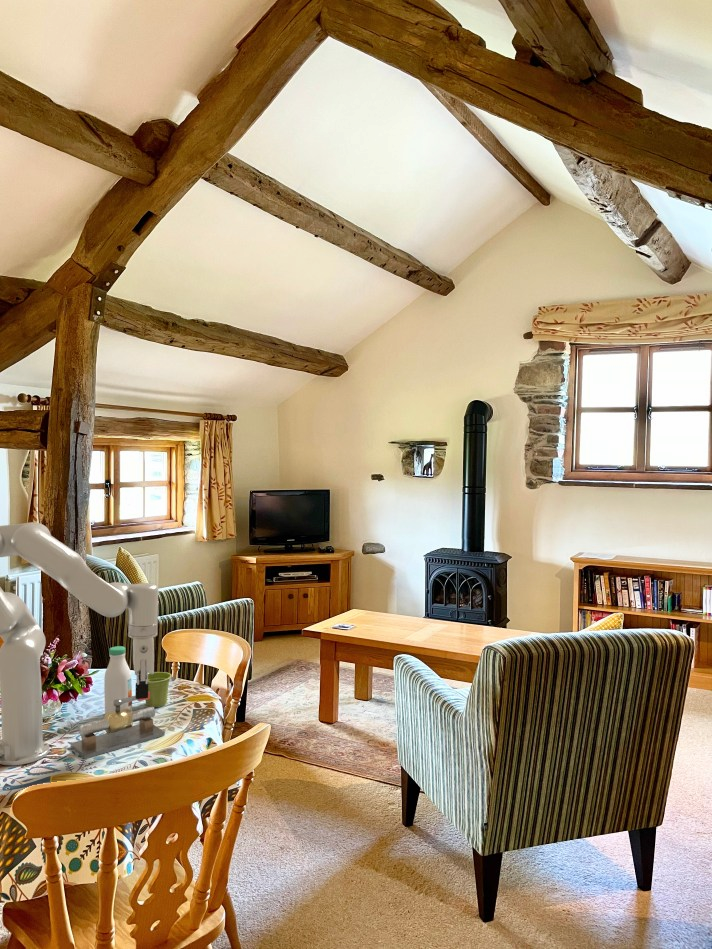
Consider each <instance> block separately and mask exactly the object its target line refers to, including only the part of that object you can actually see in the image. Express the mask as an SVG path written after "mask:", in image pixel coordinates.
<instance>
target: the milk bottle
mask: <svg viewBox="0 0 712 949" xmlns="http://www.w3.org/2000/svg"><path fill="white" fill-rule="evenodd" d="M108 655H109V656H108V657H110V658H109V662H108V665H107V668H106V669H105V672H104V684H103V686H104V687H103V688H104V689H103V690H104V715H105V714H108V713H111V712H115V706H114V705H113V701H114V700H118V699H120V700H121V699H124V698H128V697H132V696H133V689H132V688H133V687H132V673H131V670H130V667H129V664H128V663H127V660H126V647H125V646H121V645H119V646H118V645H117V646H113V647H110V648H109V650H108ZM127 708H128V709H129V710H130V711H131V712H133V701H131V702H127V703H124V704H122V705H120V710H123V709H127Z"/></svg>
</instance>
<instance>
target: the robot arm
mask: <svg viewBox="0 0 712 949" xmlns="http://www.w3.org/2000/svg"><path fill="white" fill-rule="evenodd" d="M15 556H19V558H21V559H23V560H24V561H26V562H28V563H29V564H31V565H32V566H34V567H35V568H36V569H38V570H40V571H42V573H44V574H46V575H48V576H49V577H50V578H52V579H53V580H55V581H56V582H57V583H59V585H60V586H61V587H63V588H64V589H65V590H66V591H67V592H69V593H70V594H71V595H73V596H74V597H75V598H76V599H77V600H79V601H80V603H82V604H84V605H86V606H87V607H89V608H90V609H91V610H93V611H95V612H96V613H98V614H100V615H101V616H104V617H107V618H115V617H118V616H120V615H122V614H123V613H124V612H125V610H126V609H127V610H128V626H127V627H128V633H127V636H128V638H130V639H132V663H133V671H134V675H135V677H136V682H135V695H134V696H136V699H145V698H148V674H151V675H152V674H153V673H154V672H155V664H154V663H155V643H154V642H155V641H154V638H155V637H157V636H158V631H159V630H158V626H159V625H158V624H159V622H158V620H159V618H158V617H159V615H158V614H159V588H158V586H157V585H156V584H155V583H149V582H141V583H140V582H139V583H125V582H118V581H114V582H110V583H108V582H107V581H106V580H104V579H103V578H101V577H100V576H98V575H97V574H96V573H95V572H93V571H92V570H91V568H90V567H89V565H87V563H86V562H85V560H84V559H83V557H82V556H81V554H79V553H78V552H76V551H75V550H73V549H72V548H70V547H69V546H67V545H66V544H65V543H63V542H61V541H59V540H58V539H57V538H56V537H54V536H53V535H52V534H51V532H50V530H49V528H48V527H47V526H46V525H44V524H42V523H40V522H32V521H31V522H24V523H23V522H22V523H17V524H6V525H5V524H4V525H0V558H7V557H15ZM40 626H41V625H39V623H38V622H37V619H35V617H34V615H33V614H32V612H31V610H30V608H28V605H26V602H25V601H24V600H23V599H22V598H21V597H20V596H19V595H17V594H15V593H14V592H11V591H10V592H9V591H4V590H3V589H2V587H1V586H0V638H1V639H2V641H3V643H2V645H1V646H0V710H1V711H0V712H1V713H0V715H1V717H0V718H1V739H0V765H4V766H20V765H25V764H31V763H33V762H37V761H39V760H41V759H43V758H45V757H46V756H47V755H48V754H49V753H50V750H51V749H50V747H51V746H50V745H49V744H48V743H47V742H45V741H44V740H43V739H44V733H43V730H44V729H43V703H42V702H43V699H42V698H43V697H42V696H43V695H42V693H43V692H42V676H41V664H40V663H41V660H40V659H41V656H42V654H43V652H44V650H45V649H46V648H45V647H46V644H47V642H46V641H47V640H46V636H45V633H44V632H43V630H42V628H41V627H40Z"/></svg>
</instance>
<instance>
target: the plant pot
mask: <svg viewBox="0 0 712 949" xmlns="http://www.w3.org/2000/svg"><path fill="white" fill-rule="evenodd" d="M171 678H172V674H171V673H170V672H167V671H164V672H163V671H154V673H153V674H152V675H151V674H149V673H148V691H149V692H150V699H147V700H145V705H146V706H147V708H148V707H154V708H155V707H157V708H158V707H159V708H161V707H163V706H166V704H167V703H168V693H169V683H171ZM160 706H161V707H160Z"/></svg>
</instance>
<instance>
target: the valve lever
mask: <svg viewBox="0 0 712 949" xmlns="http://www.w3.org/2000/svg"><path fill="white" fill-rule="evenodd" d="M147 699H150V692H149V691H148V698H145V699H136V696H135V695H132V697H128V698H124V699H121V700H120V699H118V700H114V701H113V705H114V706H120V705H122V704H124V703H127V702H131V701H132V702H134V701H138V702H143V701H146V700H147Z"/></svg>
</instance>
